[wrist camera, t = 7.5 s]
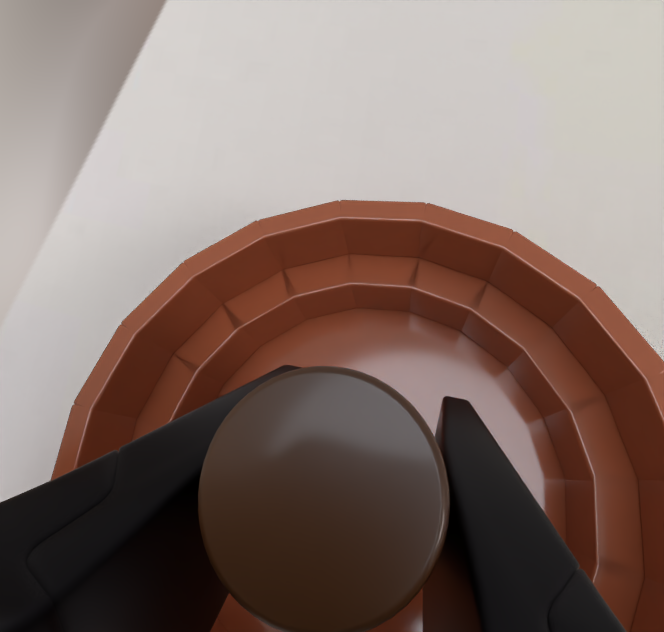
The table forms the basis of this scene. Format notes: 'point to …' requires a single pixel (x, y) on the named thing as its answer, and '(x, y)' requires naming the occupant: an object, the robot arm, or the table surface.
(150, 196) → the table surface
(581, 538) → the bowl
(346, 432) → the grey flanged cylindrical pin
